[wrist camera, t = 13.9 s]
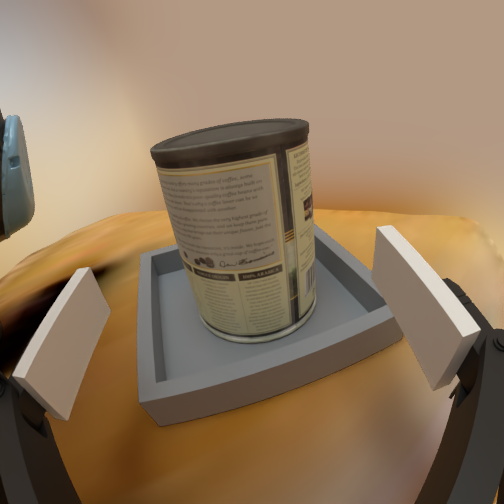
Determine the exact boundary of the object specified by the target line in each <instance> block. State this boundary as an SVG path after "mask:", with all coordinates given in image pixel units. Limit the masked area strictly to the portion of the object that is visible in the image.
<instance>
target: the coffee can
mask: <svg viewBox="0 0 504 504" xmlns="http://www.w3.org/2000/svg"><path fill="white" fill-rule="evenodd" d="M308 133H309V123H308V122H307V121H304V120H301V119H263V120H252V121H244V122H236V123H230V124H224V125H218V126H214V127H209V128H205V129H201V130H196V131H192V132H189V133H185V134H182V135H179V136H175V137H173V138H170V139H167V140H165V141H162V142H160V143H158V144H156V145H155V146H153V147H152V148H151V149H150V152H151V156H152V159H153V160H154V161H155V164H156V168H157V172H158V176H159V180H160V184H161V187H162V192H163V195H164V199H165V203H166V207H167V210H168V214H169V217H170V221H171V225H172V228H173V231H174V235H175V238H176V242H177V245H178V248H179V252H180V255H181V258H182V262H183V265H184V268H185V271H186V274H187V277H188V280H189V283H190V286H191V289H192V292H193V295H194V298H195V301H196V304H197V307H198V311H199V316H200V319H201V321H202V322H203V324H204V325H205V327H206V328H207V329H208V330H209V331H211V332H212V333H213V334H214V335H216V336H218V337H220V338H223V339H226V340H228V341H232V342H238V343H260V342H268V341H271V340H274V339H277V338H281V337H283V336H286V335H288V334H290V333H292V332H293V331H295V330H297V329H298V328H299V327H301V326H302V325H303V324H304V323H305V322H306V321H307V320H308V319H309V317H310V316H311V314H312V312H313V310H314V308H315V305H316V299H317V296H316V286H315V242H314V219H313V200H312V186H311V172H310V159H309V148H308V137H307V136H308Z"/></svg>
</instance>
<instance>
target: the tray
mask: <svg viewBox="0 0 504 504" xmlns="http://www.w3.org/2000/svg"><path fill="white" fill-rule="evenodd" d="M314 242H315V286H316V296H317V299H316V305H315V308H314V310H313V312H312V314H311V316H310V317H309V319H308V320H307V321H306V322H305V323H304V324H303V325H302V326H301V327H299V328H298V329H297V330H295V331H293V332H292V333H290V334H288V335H286V336H283V337H281V338H277V339H274V340H271V341H268V342H260V343H238V342H232V341H228V340H226V339H223V338H220V337H218V336H216V335H214V334H213V333H212V332H211V331H209V330H208V329H207V328H206V327H205V325H204V324H203V322H202V321H201V319H200V316H199V311H198V307H197V304H196V301H195V298H194V295H193V292H192V289H191V286H190V283H189V280H188V277H187V274H186V271H185V268H184V265H183V262H182V258H181V255H180V252H179V248H178V245H177V244H175V245H171V246H168V247H164V248H160V249H157V250H153V251H150V252H146V253H143V254H141V259H140V272H139V288H138V311H137V375H138V397H139V403H140V405H141V406H142V407H143V408H144V409H145V411H146V412H147V413H148V414H149V415H150V416H151V417H152V418H153V420H154V421H155V422H156V423H157V424H158V425H159V426H166V425H171V424H176V423H180V422H185V421H190V420H194V419H198V418H202V417H206V416H210V415H214V414H218V413H222V412H225V411H229V410H232V409H236V408H239V407H243V406H246V405H249V404H252V403H255V402H258V401H262V400H265V399H267V398H270V397H273V396H276V395H279V394H282V393H285V392H287V391H290V390H293V389H295V388H298V387H301V386H303V385H306V384H308V383H311V382H313V381H316V380H318V379H320V378H323V377H325V376H328V375H330V374H332V373H334V372H337V371H339V370H341V369H343V368H346V367H348V366H350V365H352V364H354V363H356V362H358V361H360V360H363V359H365V358H367V357H369V356H371V355H373V354H375V353H377V352H379V351H380V350H382V349H384V348H386V347H388V346H390V345H392V344H394V343H395V342H397V341H399V340H401V339H402V337H403V334H404V333H403V332H402V330H401V328H400V326H399V324H398V323H397V321H396V319H395V317H394V316H393V314H392V312H391V310H390V309H389V307H388V305H387V304H386V302H385V300H384V298H383V297H382V295H381V293H380V292H379V290H378V288H377V287H376V285H375V284H374V282H373V280H372V279H371V278H372V271H370V270H369V269H368V268H367V267H366V266H365V265H363V264H362V263H361V262H360V261H359V260H358V259H357V258H355V257H354V256H353V255H352V254H351V253H349V252H348V251H347V250H346V249H345V248H343V247H342V246H341V245H340V244H339V243H337V242H336V241H335V240H334V239H333V238H331V237H330V236H329V235H328V234H327V233H325V232H324V231H323V230H322V229H320V228H319V227H318V226H317V225H315V224H314Z"/></svg>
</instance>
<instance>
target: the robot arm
mask: <svg viewBox="0 0 504 504" xmlns="http://www.w3.org/2000/svg"><path fill="white" fill-rule="evenodd" d="M34 208H35V203H34V193H33V186H32V179H31V173H30V167H29V160H28V154H27V147H26V142H25V136H24V131H23V126H22V123H21V121H20V117H19V116H18V115H14V116H11V115H10V116H7V118H6V119H5V120H4V119H3V117H2V113H1V110H0V242H1V241H3V240H5V239H8V238H9V237H10V235H12V234H13V233H15V232H17V231H18V230H20V229H21V228H23V227H25V226H26V225H28V223H29V222H30V221H31V219H32V217H33V215H34V210H35V209H34ZM371 279H372V280H373V282H374V284H375V285H376V287H377V288H378V290H379V292H380V293H381V295H382V297H383V298H384V300H385V302H386V304H387V305H388V307H389V309H390V310H391V312H392V314H393V316H394V317H395V319H396V321H397V323H398V324H399V326H400V328H401V330H402V332H403V333H404V335H405V337H406V339H407V341H408V343H409V345H410V346H411V348H412V350H413V352H414V354H415V356H416V358H417V360H418V362H419V364H420V366H421V368H422V370H423V372H424V374H425V376H426V378H427V380H428V382H429V384H430V386H431V388H432V390H433V391H434V390H437V389H439V388H442V387H444V386H446V385H449V384H450V383H451V381H452V380H453V378H454V377H455V375H456V374H457V376H458V378H459V379H460V381H459V383H458V384H457V386H456V387H455V389H454V390H453V391H452V393H451V395H450V397H449V398H450V399H452V397H453V396H454V394H455V397H454V401H453V404H452V408H451V412H450V415H449V419H448V422H447V425H446V429H445V432H444V435H443V438H442V441H441V443H440V446H439V449H438V452H437V454H436V457H435V460H434V462H433V465H432V467H431V469H430V472H429V474H428V476H427V479H426V481H425V483H424V485H423V487H422V490H421V492H420V494H419V496H418V498H417V500H416V502H415V504H493V501H494V498H495V495H496V492H497V489H498V486H499V489H498V497H497V503H496V504H504V330H503V329H493V328H492V327H491V325H490V324H489V323H488V321H487V320H486V319H485V317H484V316H483V315H482V313H481V312H480V311H479V310H478V308H477V307H476V306H475V305H474V303H472V302H471V300H470V298H469V297H468V296H466V294H465V292H464V291H463V290H462V289H461V288H460V287H459V285H457V284H456V283H454V282H453V281H451V280H450V279H448V278H446V279H441V278H440V277H439V276H438V275H437V273H436V272H435V271H434V270H433V269H432V268H431V267H430V265H429V264H428V263H427V262H426V261H425V260H424V259H423V258H422V256H421V255H420V254H419V253H418V252H417V251H416V250H415V249H414V248H413V247H412V246H411V245H410V244H409V243H408V241H407V240H406V239H405V238H404V237H403V236H402V235H401V234H400V233H399V232H398V231H397V230H396V229H395V228H394V227H393V226H392V225H389V226H381V227H377V229H376V241H375V251H374V261H373V269H372V278H371ZM110 313H111V310H110V308H109V306H108V304H107V302H106V300H105V298H104V296H103V294H102V292H101V290H100V288H99V286H98V284H97V282H96V280H95V277H94V275H93V273H92V271H91V269H90V267H86V268H80V269H77V271H76V272H75V273H74V275H73V276H72V278H71V279H70V280H69V282H68V283H67V285H66V286H65V288H64V289H63V290H62V292H61V293H60V295H59V296H58V298H57V299H56V301H55V302H54V304H53V305H52V307H51V308H50V310H49V312H48V313H47V315H46V316H45V318H44V319H43V321H42V323H41V324H40V326H39V328H38V329H37V331H36V332H35V333H34V334H33V335H32V337H31V338H30V340H29V342H28V343H27V347H25V349H24V351H23V354H21V356H20V358H19V360H18V362H17V363H16V365H15V367H14V369H13V371H12V373H11V375H10V377H9V379H7V378H6V377H5V376H4V374H3V373H2V372H1V371H0V504H82V503H81V501H80V499H79V497H78V495H77V493H76V491H75V489H74V487H73V484H72V482H71V480H70V478H69V476H68V473H67V471H66V468H65V466H64V464H63V461H62V458H61V456H60V453H59V450H58V448H57V445H56V442H55V439H54V436H53V433H52V430H51V427H50V424H49V421H48V419H47V418H46V417H45V416H44V414H45V412H46V411H47V412H48V413H49V414H50V415H52V416H53V417H54V418H56V419H60V420H64V421H68V419H69V416H70V413H71V410H72V407H73V404H74V401H75V399H76V396H77V393H78V390H79V387H80V385H81V382H82V379H83V377H84V374H85V371H86V369H87V366H88V364H89V361H90V359H91V356H92V354H93V351H94V349H95V347H96V344H97V342H98V340H99V337H100V335H101V333H102V330H103V328H104V326H105V324H106V321H107V319H108V317H109V315H110ZM1 336H2V324H1V322H0V340H1Z"/></svg>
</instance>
